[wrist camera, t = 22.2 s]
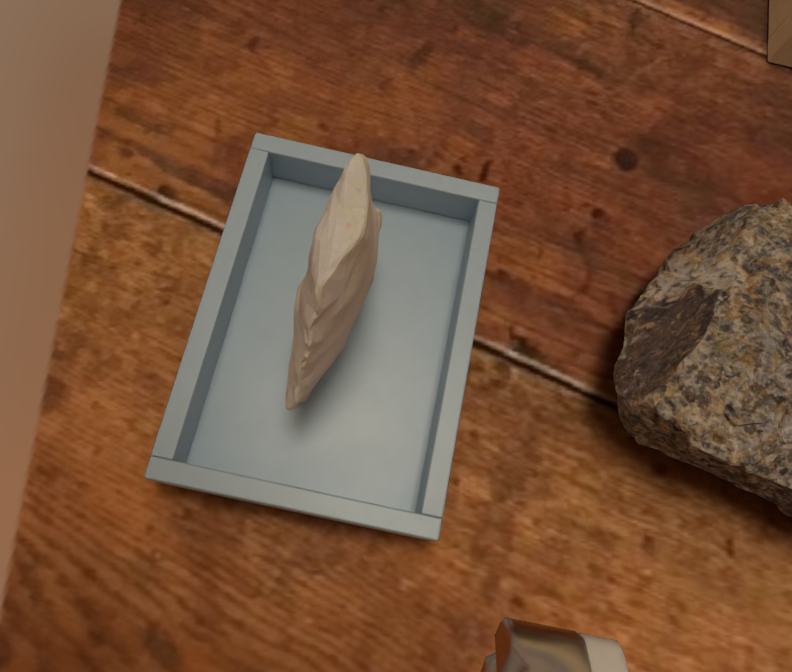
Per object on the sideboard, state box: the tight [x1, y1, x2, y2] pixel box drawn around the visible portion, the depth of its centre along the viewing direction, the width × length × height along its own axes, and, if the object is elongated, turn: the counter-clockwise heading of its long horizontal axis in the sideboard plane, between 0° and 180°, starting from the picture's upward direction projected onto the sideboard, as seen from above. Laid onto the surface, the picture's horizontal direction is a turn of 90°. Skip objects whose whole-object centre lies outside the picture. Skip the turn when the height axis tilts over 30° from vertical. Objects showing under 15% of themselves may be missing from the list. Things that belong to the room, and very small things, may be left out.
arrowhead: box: [285, 153, 382, 410], centre depth 22 cm, size 8×2×10 cm, turn 162°
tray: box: [144, 133, 499, 541], centre depth 26 cm, size 15×11×2 cm
